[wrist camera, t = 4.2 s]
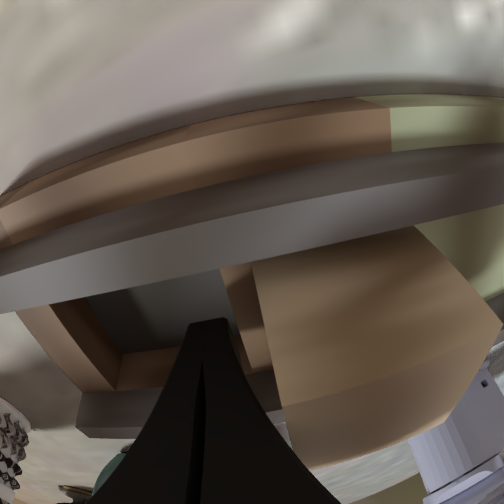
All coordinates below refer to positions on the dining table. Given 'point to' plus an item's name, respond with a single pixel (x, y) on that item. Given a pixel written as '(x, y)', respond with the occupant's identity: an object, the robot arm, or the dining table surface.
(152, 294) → the trap box
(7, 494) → the black and white cylinder
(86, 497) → the apothecary jar
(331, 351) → the maple block
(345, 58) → the dining table surface
